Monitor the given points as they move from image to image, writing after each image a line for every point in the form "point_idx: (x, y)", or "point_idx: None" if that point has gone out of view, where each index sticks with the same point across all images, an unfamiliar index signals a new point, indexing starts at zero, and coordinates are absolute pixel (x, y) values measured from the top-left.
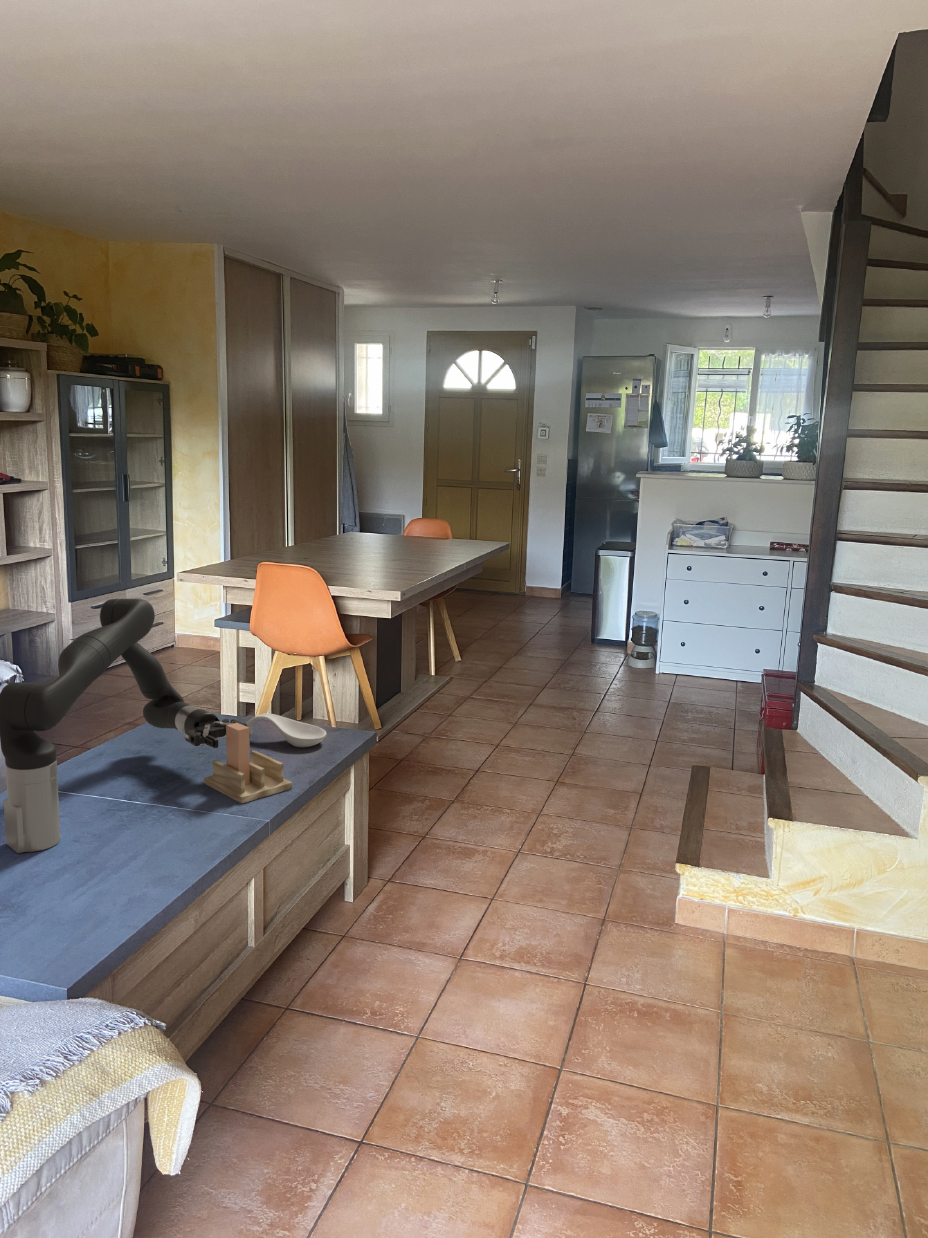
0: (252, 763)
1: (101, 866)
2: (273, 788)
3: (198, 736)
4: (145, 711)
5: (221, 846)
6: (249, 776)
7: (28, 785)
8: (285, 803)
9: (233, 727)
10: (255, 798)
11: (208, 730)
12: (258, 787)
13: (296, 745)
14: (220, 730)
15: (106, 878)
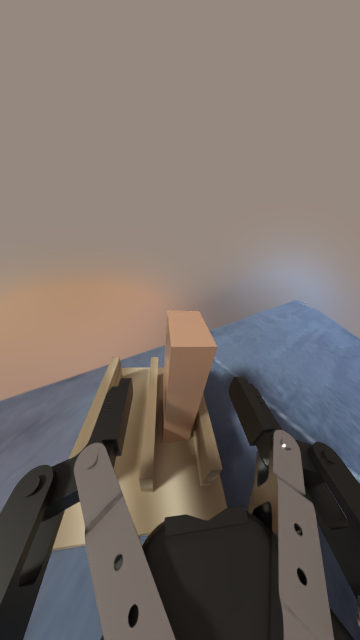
0: (150, 385)
1: (320, 345)
2: (145, 368)
3: (316, 442)
4: None
5: (233, 327)
6: (162, 390)
7: None
8: (153, 349)
9: (202, 325)
10: None
11: (278, 479)
12: (159, 380)
13: None
14: (193, 518)
15: (308, 334)
